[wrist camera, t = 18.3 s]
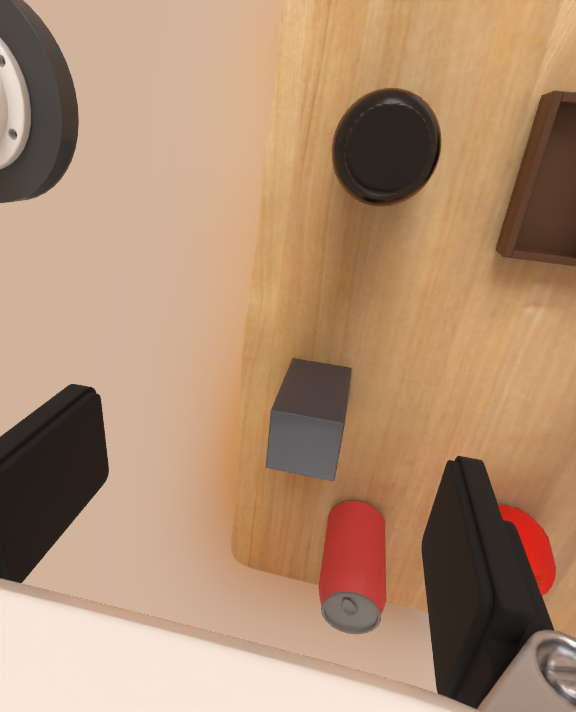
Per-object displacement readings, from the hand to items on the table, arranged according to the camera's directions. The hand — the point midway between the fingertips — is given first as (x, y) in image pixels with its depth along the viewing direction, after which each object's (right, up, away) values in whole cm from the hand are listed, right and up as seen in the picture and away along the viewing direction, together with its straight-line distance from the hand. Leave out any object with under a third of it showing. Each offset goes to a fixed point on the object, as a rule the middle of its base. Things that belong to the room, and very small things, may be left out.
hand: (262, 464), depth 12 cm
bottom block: (+4, -1, +33) cm, 34 cm away
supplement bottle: (+8, +19, +23) cm, 32 cm away
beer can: (+9, -16, +40) cm, 44 cm away
